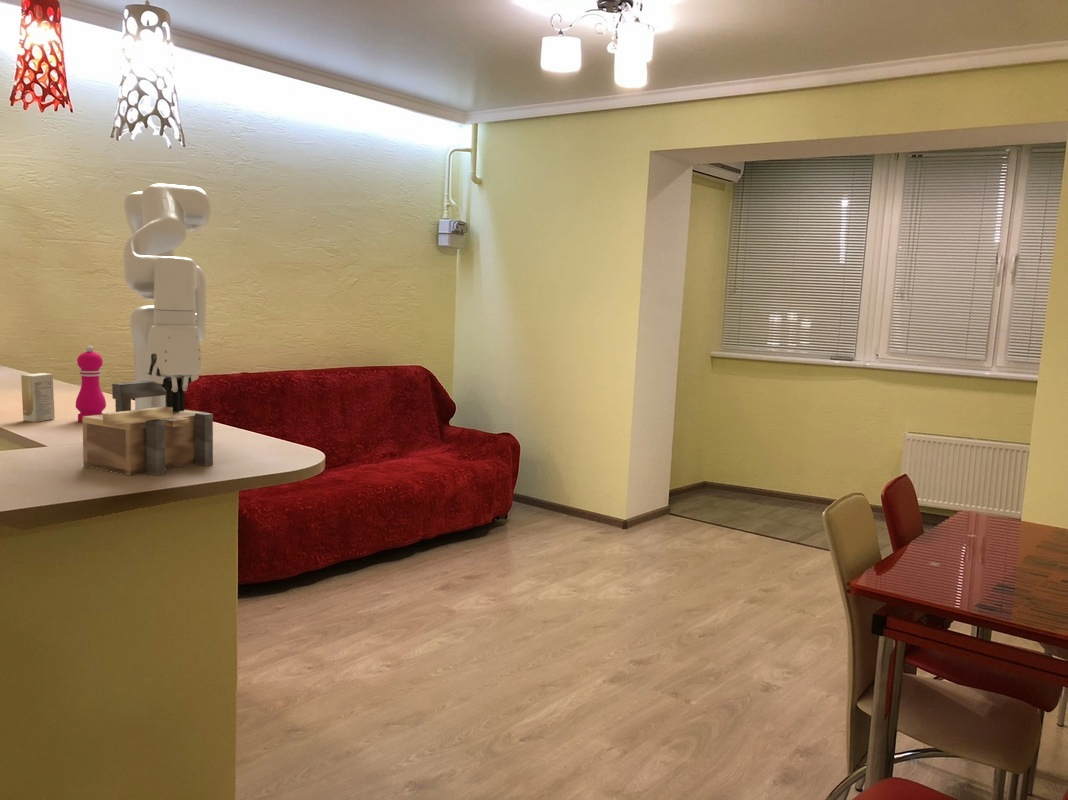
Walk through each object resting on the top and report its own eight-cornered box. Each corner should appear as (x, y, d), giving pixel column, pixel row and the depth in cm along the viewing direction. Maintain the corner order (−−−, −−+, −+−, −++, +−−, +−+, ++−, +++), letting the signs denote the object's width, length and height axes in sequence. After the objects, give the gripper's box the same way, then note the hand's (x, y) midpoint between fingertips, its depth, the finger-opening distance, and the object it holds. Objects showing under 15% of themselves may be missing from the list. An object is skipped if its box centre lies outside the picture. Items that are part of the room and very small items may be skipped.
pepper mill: (112, 419, 231) (110, 345, 229) (95, 423, 224) (94, 347, 221) (86, 418, 232) (85, 344, 229) (69, 421, 225) (68, 345, 222)
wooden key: (165, 416, 171) (165, 406, 171) (172, 417, 171) (172, 407, 170) (102, 424, 159) (102, 413, 159) (110, 425, 158) (109, 414, 158)
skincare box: (43, 417, 229) (42, 372, 227) (55, 419, 227) (54, 373, 226) (21, 420, 223) (20, 374, 222) (33, 422, 221) (31, 375, 220)
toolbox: (166, 452, 191) (165, 404, 190) (223, 462, 183) (223, 412, 182) (83, 466, 173) (82, 413, 172) (143, 478, 165) (143, 423, 164)
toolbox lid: (165, 412, 190) (165, 375, 189) (219, 420, 182) (219, 382, 181) (82, 422, 172) (81, 382, 171) (138, 431, 165) (137, 389, 164)
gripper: (191, 318, 178) (192, 405, 181) (129, 318, 165) (130, 412, 167) (217, 320, 175) (218, 408, 177) (156, 320, 162) (157, 416, 164)
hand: (175, 410), depth 172 cm, fingers closed
